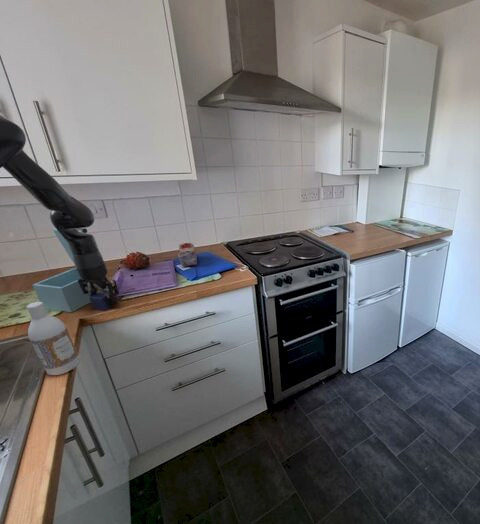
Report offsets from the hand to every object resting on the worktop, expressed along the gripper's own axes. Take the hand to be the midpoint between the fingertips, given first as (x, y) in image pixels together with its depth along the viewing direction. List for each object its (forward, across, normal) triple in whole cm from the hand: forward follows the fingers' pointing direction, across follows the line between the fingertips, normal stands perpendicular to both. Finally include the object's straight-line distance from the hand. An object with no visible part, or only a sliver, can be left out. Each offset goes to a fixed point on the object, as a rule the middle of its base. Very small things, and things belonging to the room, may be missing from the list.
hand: (105, 304), depth 110 cm
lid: (-18, -15, +8) cm, 24 cm away
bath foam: (+1, +18, -28) cm, 33 cm away
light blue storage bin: (+1, -15, +2) cm, 15 cm away
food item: (+1, +2, +42) cm, 42 cm away
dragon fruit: (+1, -17, +31) cm, 36 cm away
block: (+1, 0, 0) cm, 1 cm away
